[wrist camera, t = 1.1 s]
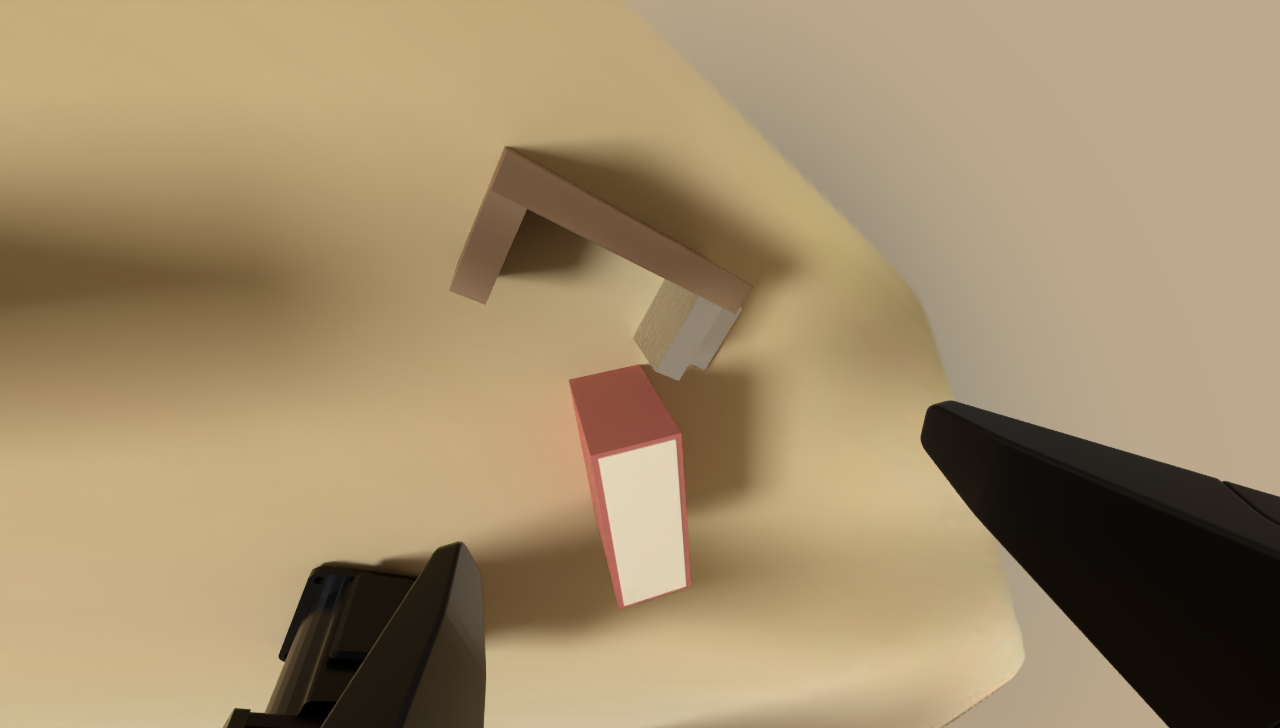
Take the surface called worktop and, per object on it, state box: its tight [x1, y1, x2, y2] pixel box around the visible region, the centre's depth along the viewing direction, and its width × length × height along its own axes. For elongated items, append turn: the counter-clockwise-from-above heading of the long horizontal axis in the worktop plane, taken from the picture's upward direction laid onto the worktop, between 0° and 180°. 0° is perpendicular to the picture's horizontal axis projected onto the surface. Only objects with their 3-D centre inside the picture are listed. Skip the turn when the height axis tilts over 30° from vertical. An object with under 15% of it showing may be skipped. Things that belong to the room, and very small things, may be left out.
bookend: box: [633, 279, 743, 381], centre depth 20 cm, size 4×4×4 cm
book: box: [569, 365, 691, 610], centre depth 22 cm, size 9×4×6 cm, turn 6°
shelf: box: [449, 146, 753, 314], centre depth 17 cm, size 5×9×4 cm, turn 61°
